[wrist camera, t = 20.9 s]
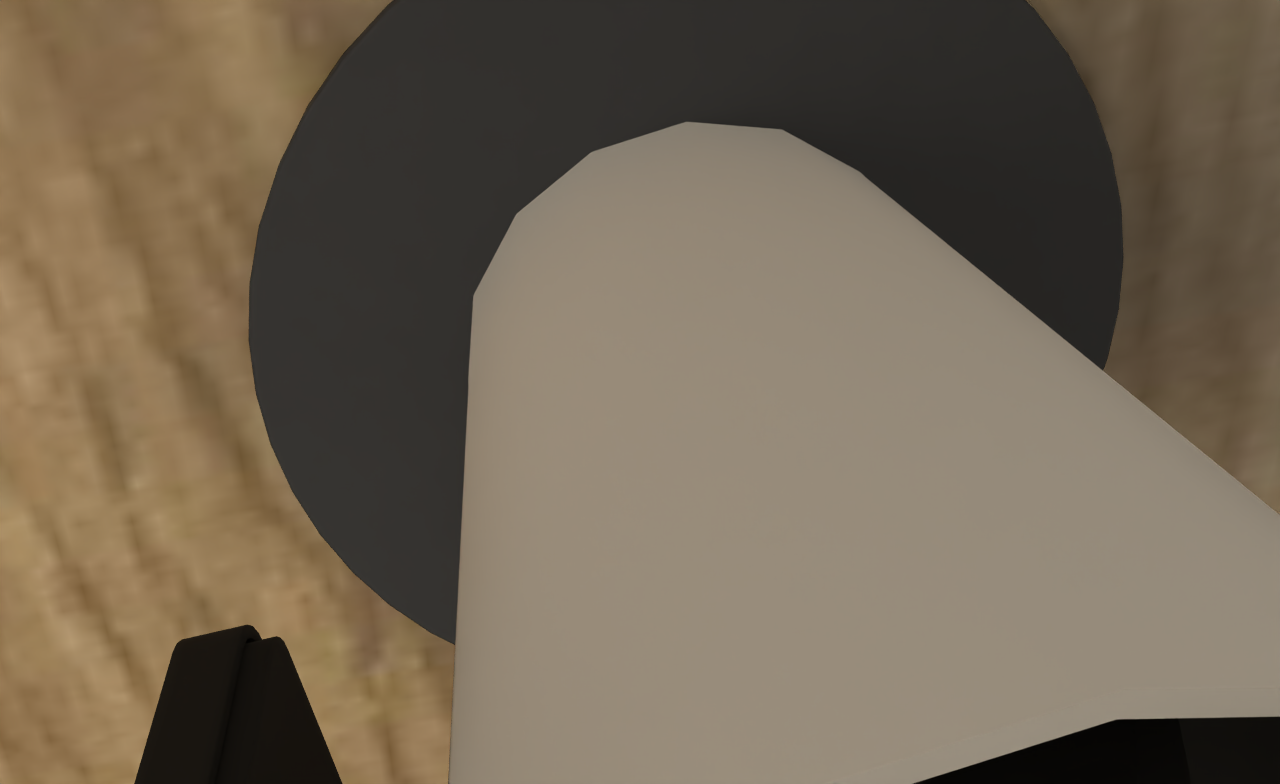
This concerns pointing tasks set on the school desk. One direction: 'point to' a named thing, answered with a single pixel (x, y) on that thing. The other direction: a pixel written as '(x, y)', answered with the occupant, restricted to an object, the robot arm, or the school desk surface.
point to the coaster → (564, 135)
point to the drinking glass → (827, 507)
